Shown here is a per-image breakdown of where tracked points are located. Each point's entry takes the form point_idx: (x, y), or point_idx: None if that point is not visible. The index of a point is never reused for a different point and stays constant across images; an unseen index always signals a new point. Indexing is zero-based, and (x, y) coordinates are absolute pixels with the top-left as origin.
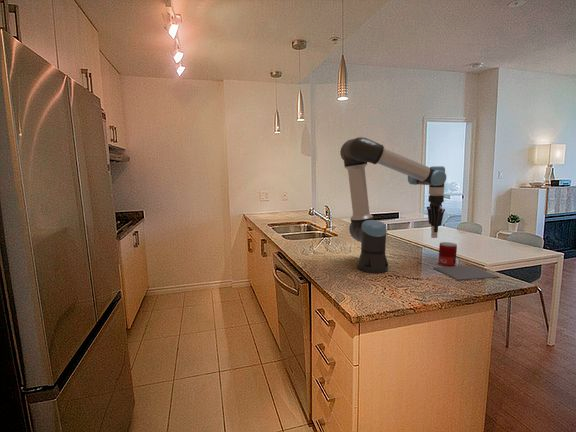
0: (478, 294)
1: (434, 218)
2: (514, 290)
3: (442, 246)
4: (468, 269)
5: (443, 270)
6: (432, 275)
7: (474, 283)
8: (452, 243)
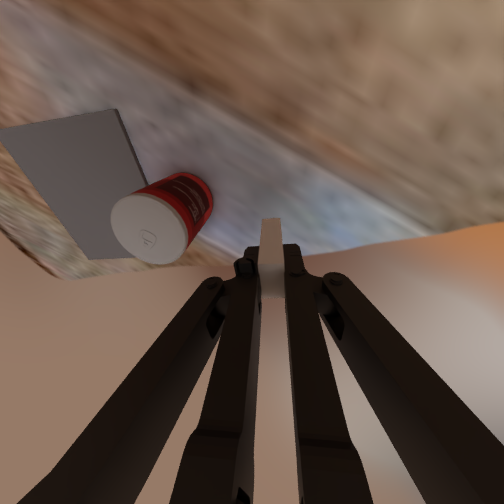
0: None
1: (238, 341)
2: (5, 233)
3: (129, 194)
4: None
5: (84, 134)
6: (9, 46)
7: (3, 171)
8: (168, 258)
